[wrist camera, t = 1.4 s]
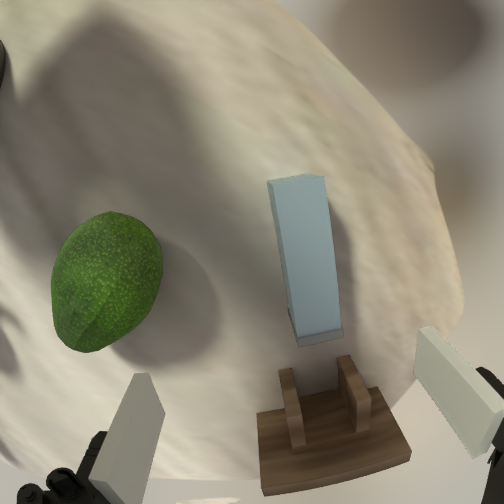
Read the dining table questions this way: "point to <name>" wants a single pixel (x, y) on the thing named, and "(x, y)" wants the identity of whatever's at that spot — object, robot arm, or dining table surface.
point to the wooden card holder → (327, 435)
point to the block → (307, 257)
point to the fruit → (104, 281)
